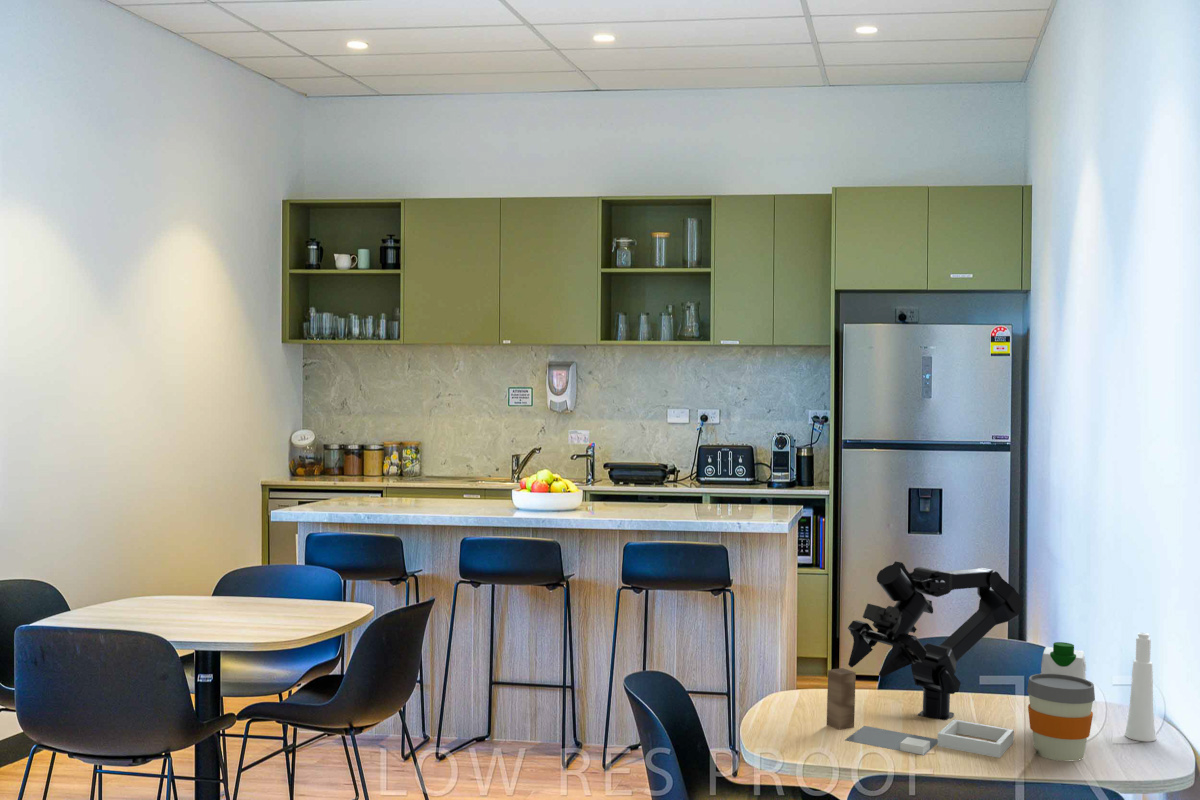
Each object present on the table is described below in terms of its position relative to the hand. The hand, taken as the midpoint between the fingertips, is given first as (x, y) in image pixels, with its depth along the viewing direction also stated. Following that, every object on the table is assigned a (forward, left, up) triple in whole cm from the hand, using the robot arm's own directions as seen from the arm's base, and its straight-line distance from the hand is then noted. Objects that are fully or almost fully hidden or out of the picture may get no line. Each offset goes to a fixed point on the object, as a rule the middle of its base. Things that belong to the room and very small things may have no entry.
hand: (864, 671), depth 243 cm
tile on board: (+12, +15, -11) cm, 22 cm away
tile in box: (+1, +24, -12) cm, 26 cm away
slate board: (+8, +9, -12) cm, 18 cm away
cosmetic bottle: (-30, +50, -13) cm, 60 cm away
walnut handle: (+6, -3, -12) cm, 14 cm away
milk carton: (-20, +36, -13) cm, 43 cm away
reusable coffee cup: (-6, +38, -13) cm, 41 cm away
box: (+1, +24, -12) cm, 27 cm away
